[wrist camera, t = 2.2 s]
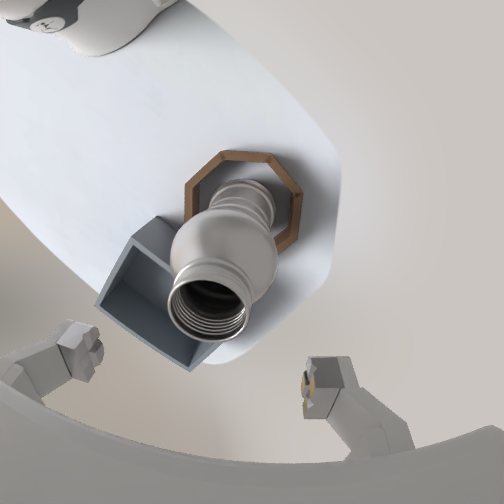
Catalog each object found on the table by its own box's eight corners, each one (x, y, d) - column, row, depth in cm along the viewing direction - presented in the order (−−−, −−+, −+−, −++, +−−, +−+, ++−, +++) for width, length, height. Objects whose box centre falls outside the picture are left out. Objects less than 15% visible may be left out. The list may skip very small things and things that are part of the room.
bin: (118, 278, 35) (94, 305, 29) (156, 215, 31) (131, 236, 25) (200, 336, 38) (190, 372, 31) (250, 286, 34) (246, 320, 28)
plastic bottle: (274, 233, 31) (280, 367, 13) (214, 231, 32) (150, 356, 13) (276, 176, 29) (292, 246, 11) (212, 175, 29) (125, 241, 11)
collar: (193, 149, 28) (185, 150, 25) (303, 156, 28) (307, 158, 25) (191, 249, 33) (185, 259, 30) (290, 258, 32) (292, 269, 30)
